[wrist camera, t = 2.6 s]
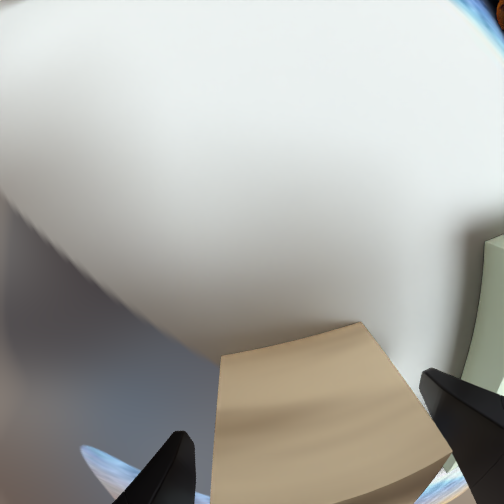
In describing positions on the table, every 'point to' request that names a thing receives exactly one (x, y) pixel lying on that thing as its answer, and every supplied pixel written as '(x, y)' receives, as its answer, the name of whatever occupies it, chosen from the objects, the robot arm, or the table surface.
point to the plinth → (487, 329)
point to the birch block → (321, 426)
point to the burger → (500, 13)
